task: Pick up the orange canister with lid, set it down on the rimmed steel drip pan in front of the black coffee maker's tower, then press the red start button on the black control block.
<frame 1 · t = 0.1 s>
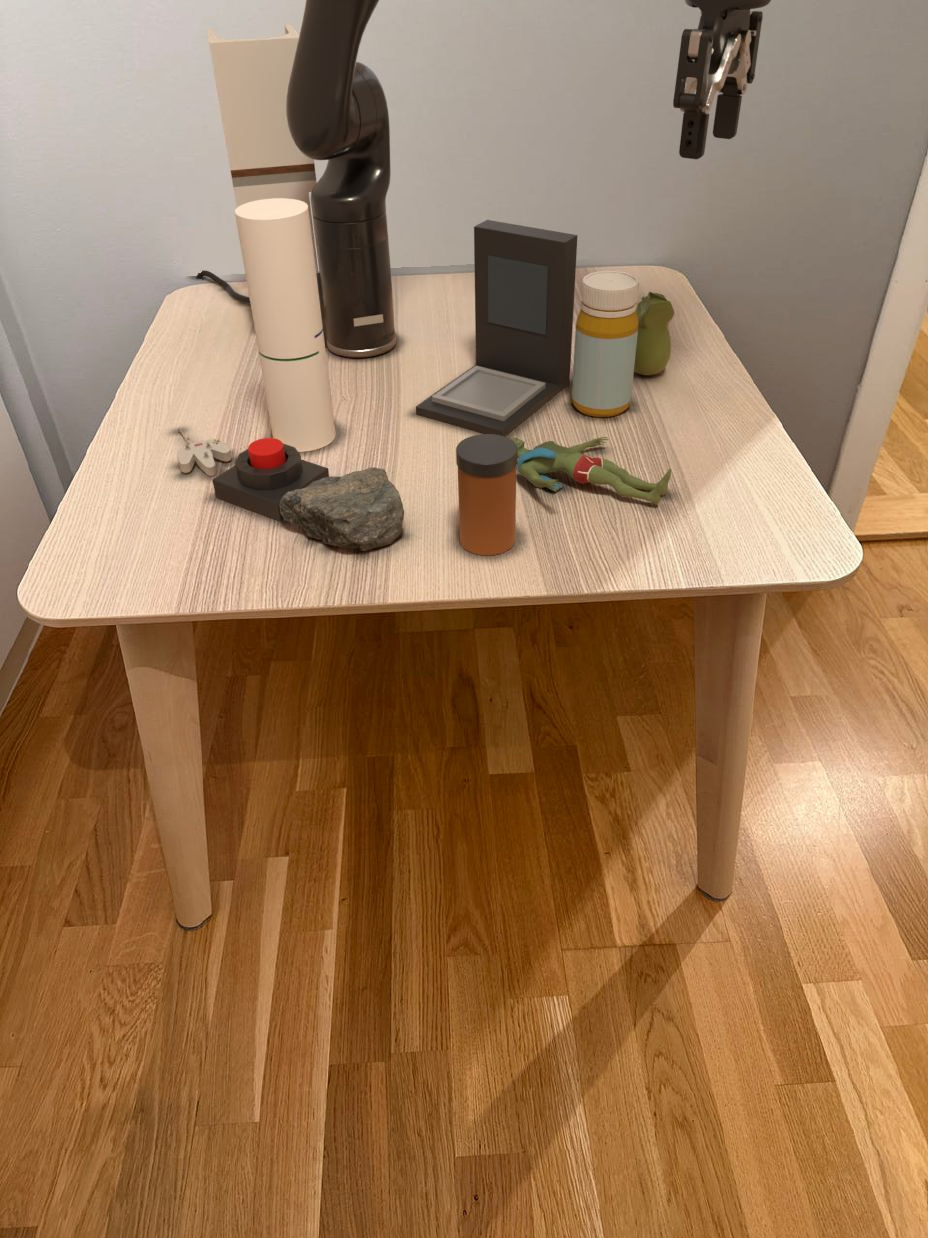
hand: (707, 147, 90), 29 cm above the table, tool pointing down, fingers open, 8 cm apart
orange canister with lid: (487, 539, 91), on the table
coffee maker: (489, 402, 113), on the table
start button: (266, 453, 96), point 5 cm above the table, slide at 0.2 cm
control block: (273, 491, 98), on the table
cylindrical container: (304, 437, 108), on the table
figurine: (580, 484, 99), on the table
bottle: (600, 406, 112), on the table
rock: (344, 531, 93), on the table
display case: (292, 314, 137), on the table
pear: (646, 374, 119), on the table
game controller: (198, 454, 105), on the table
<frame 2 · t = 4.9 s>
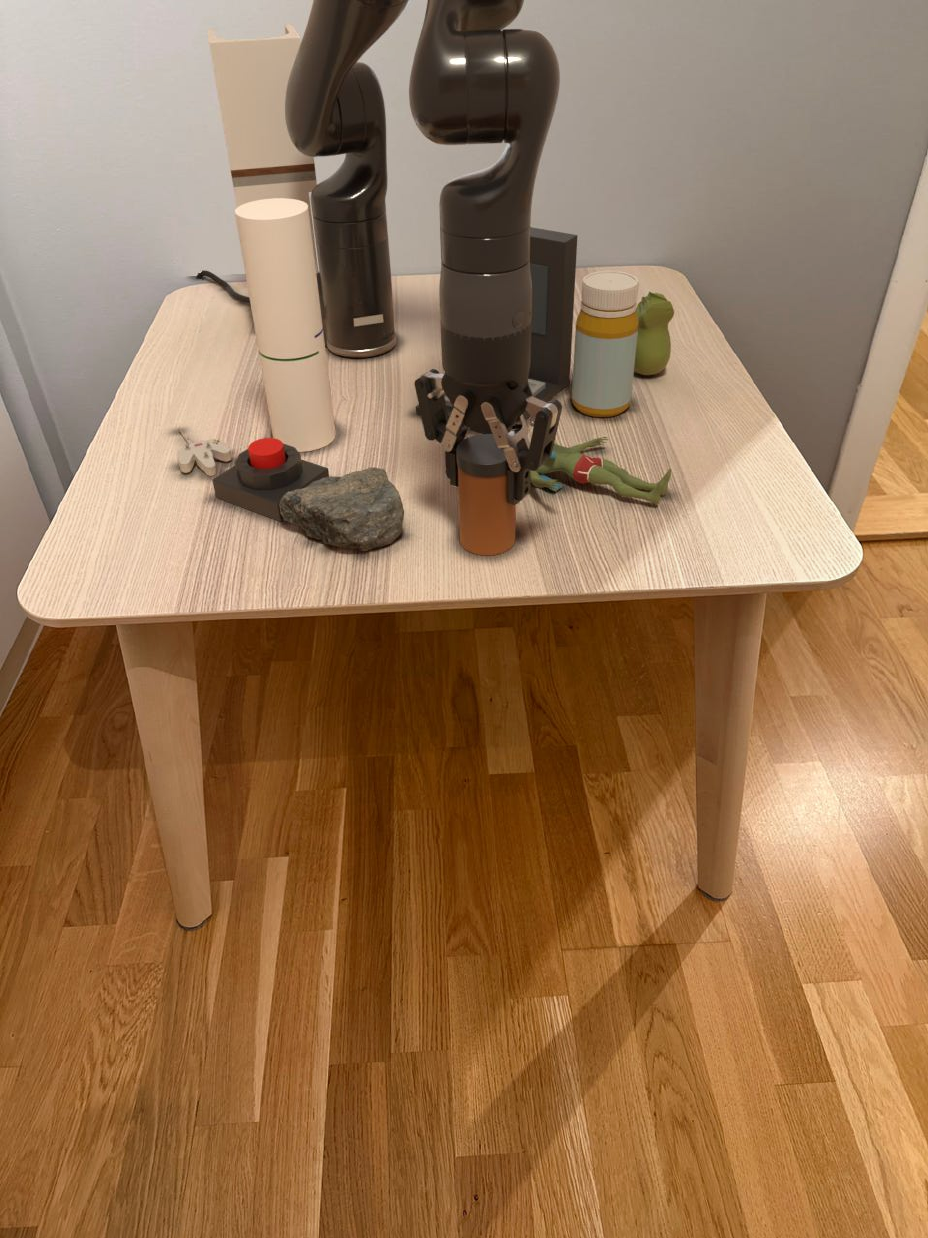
hand: (487, 490, 87), 6 cm above the table, tool pointing down, fingers closed on orange canister with lid, 5 cm apart
orange canister with lid: (487, 539, 91), on the table, touching gripper
everything else where it was.
when the fingers open (7 cm above the table, at t = 13.2 s): orange canister with lid stays where it is, resting on coffee maker.
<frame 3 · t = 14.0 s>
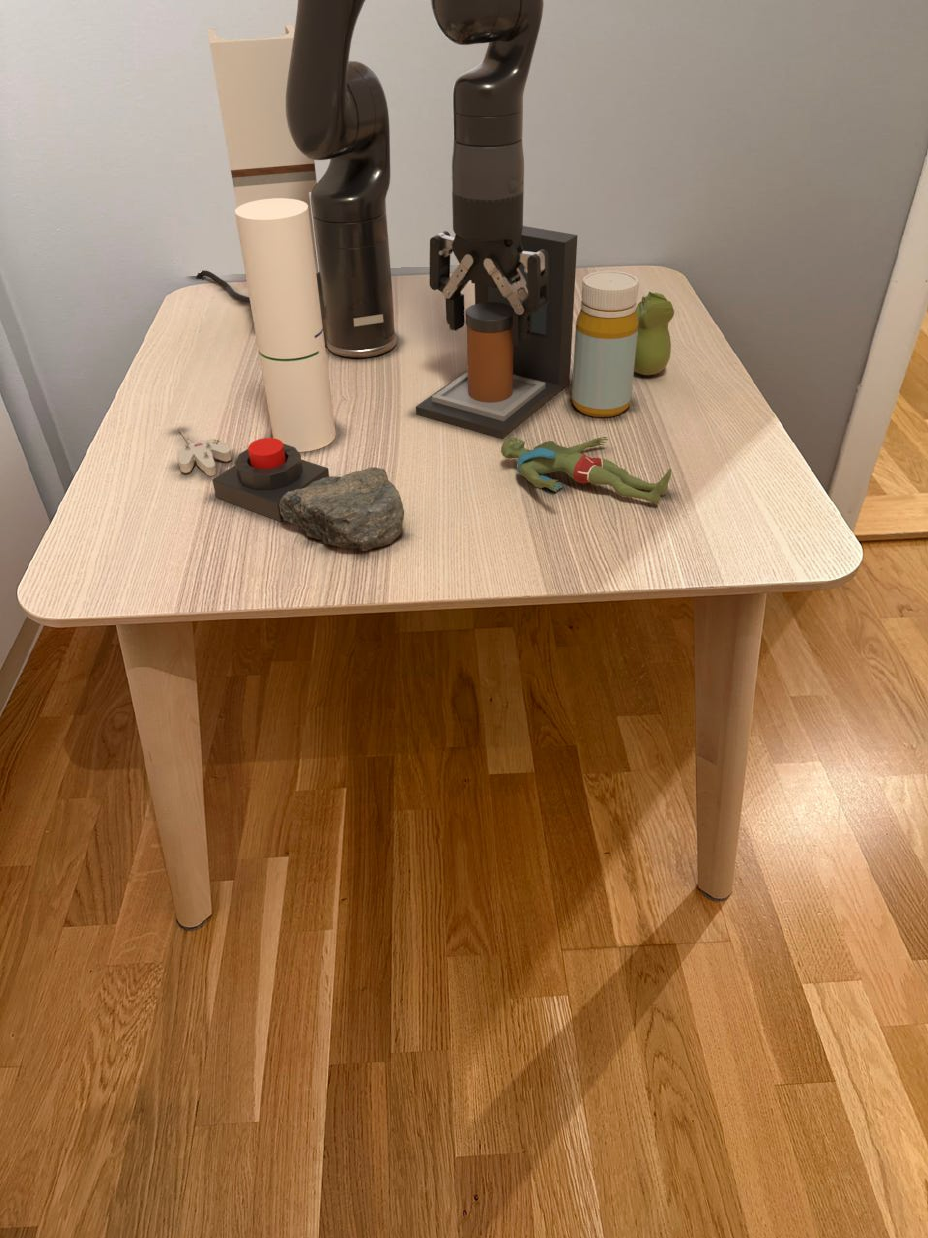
hand: (487, 335, 108), 8 cm above the table, tool pointing down, fingers open, 8 cm apart
orange canister with lid: (490, 392, 112), point 1 cm above the table, touching coffee maker
everything else where it was.
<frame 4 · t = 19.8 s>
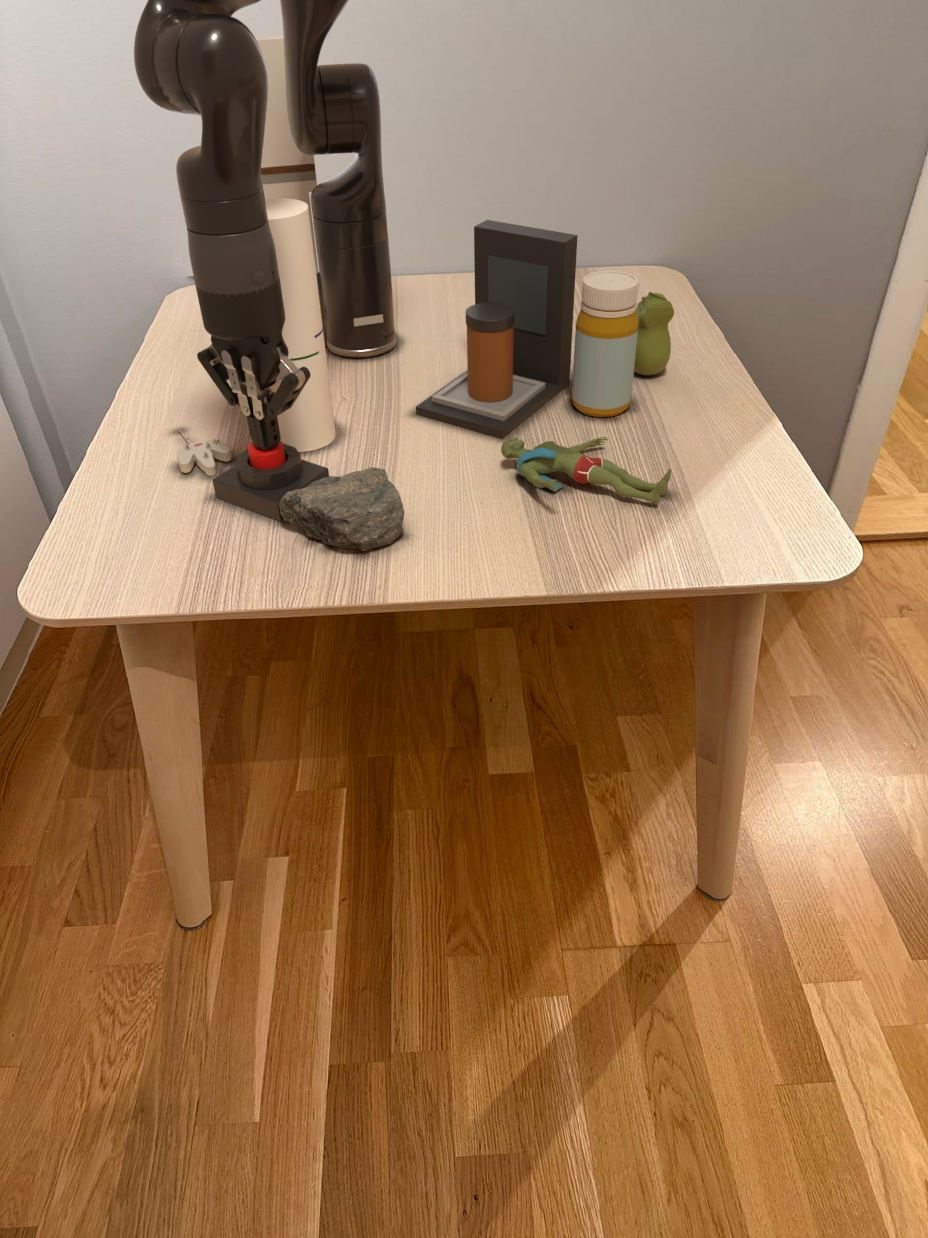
hand: (266, 446, 95), 5 cm above the table, tool pointing down, fingers closed
start button: (266, 453, 96), point 5 cm above the table, slide at 0.2 cm, touching gripper
everything else where it was.
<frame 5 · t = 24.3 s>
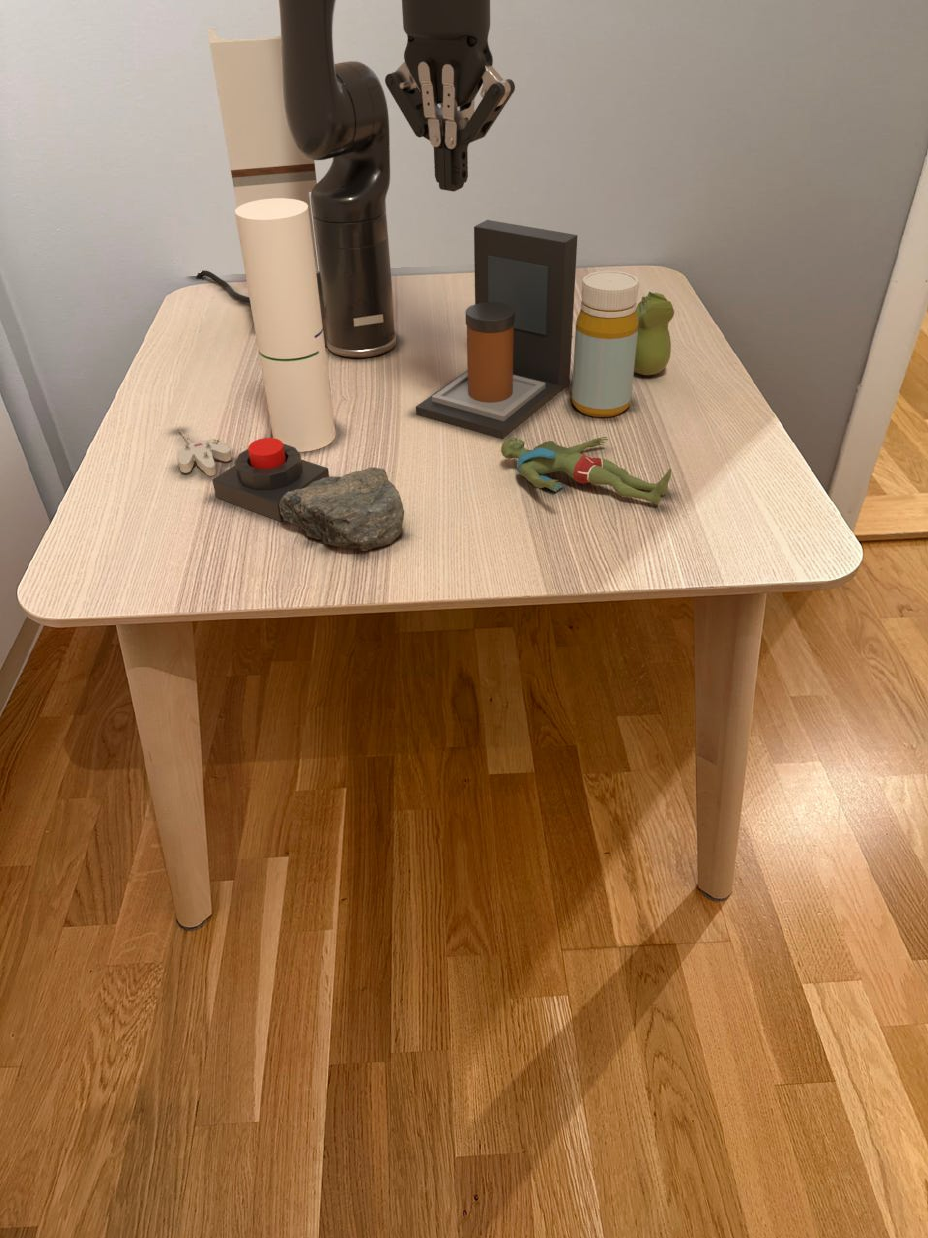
hand: (451, 188, 89), 27 cm above the table, tool pointing down, fingers closed
start button: (266, 453, 96), point 5 cm above the table, slide at 0.2 cm
everything else where it was.
at the end: orange canister with lid 0.1 cm off-centre on the coffee maker, point 1.3 cm above the coffee maker's base; orange canister with lid tilted 0°; start button pushed in 1.1 cm at the most during the clip, back to 0.2 cm at the end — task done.
